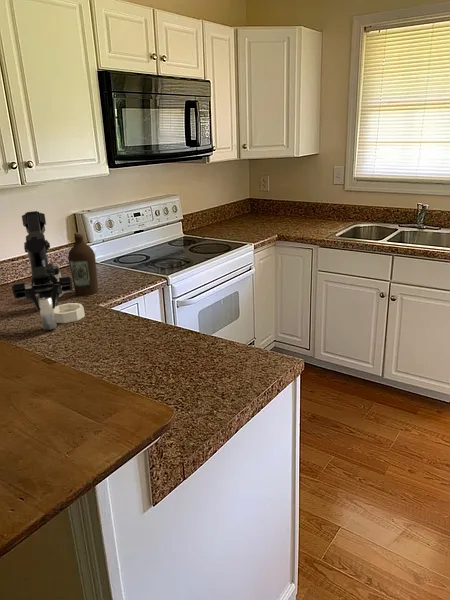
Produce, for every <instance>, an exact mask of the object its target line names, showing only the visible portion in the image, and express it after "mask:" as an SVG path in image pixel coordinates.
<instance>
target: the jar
mask: <svg viewBox="0 0 450 600" xmlns="http://www.w3.org/2000/svg"><path fill="white" fill-rule="evenodd" d="M53 269H54V274H53V276H54V275H55V277H56V279H57V281H59V277H62V274H61V272H60V267H59V266H58V265H53ZM64 294H65V291H64V292H63V291H62V294H59V297H58V298H61V297H63V295H64Z"/></svg>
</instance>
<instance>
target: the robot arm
mask: <svg viewBox="0 0 450 600" xmlns="http://www.w3.org/2000/svg"><path fill="white" fill-rule="evenodd" d="M21 220H22V221H21V222H22V225H23V227H24V228H25V230H26V233H27V235H26V236H25V242H23V243H24V244H23V245H24V246H23V249H24V253H27V256H28V259H29V263H30V271H31V279H30V280H31V284H26V283H25V281H23V282H18V283H17V282H15V283H12V285H11V291H12V294H13V297H14V299H23V298H26V299H27V300H30V301H31V302H32V303H33V305H34V306H35V308H36V310H37V311H38V312H40V310H39V304H38V299H39V298H42V297H52V302H53V308H55V306H58V305H59V304H58V302H57V301H58V298H60V297H59V294H62V291H63V292H64V293H65V292H70V291H72V290H73V279H72V276H70V275H68V276H67V275H66V276H61V277H59V281H57V279H56V277H55V275H54V276H53V274H54V269H53V266H54V263H49V261H48V256H47V253H48V251H49V250H50V248H51V245H50V242H49V240H48V239H46V237H45V231H46V225H47V222H46V221H47V219H46V215H45V213H43V212H40V211H37V210H35V211H27V212H25V214H22V215H21ZM36 295H38V299H37V296H36Z"/></svg>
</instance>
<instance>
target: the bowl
mask: <svg viewBox="0 0 450 600" xmlns="http://www.w3.org/2000/svg"><path fill="white" fill-rule="evenodd" d="M54 313H55V319H56V324H67V323H72V322H78V321H79V320H81V319H83V318H84V317H86V315H85V308H84V306H83V304H82V303H79V302H78V303H76V302H75V303H73V302H68V303H63V304H58V306H55V308H54Z"/></svg>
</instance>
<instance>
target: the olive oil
mask: <svg viewBox="0 0 450 600" xmlns="http://www.w3.org/2000/svg"><path fill="white" fill-rule="evenodd" d="M73 235H74V244H73V246H72V247H71V248H70V250H69V251H68V256H67V259H68V263H69V268H70V272H71V279H72V284H73V287H74V293H75V295H77V296H89V295H93V294H97V293H98V292H99V284H98V273H97V261H96V255H95V252H94V250H93V248H92V247H90V246H89V245H88V244H87V243H86V242H85V239H84V236H83V232H74V234H73Z"/></svg>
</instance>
